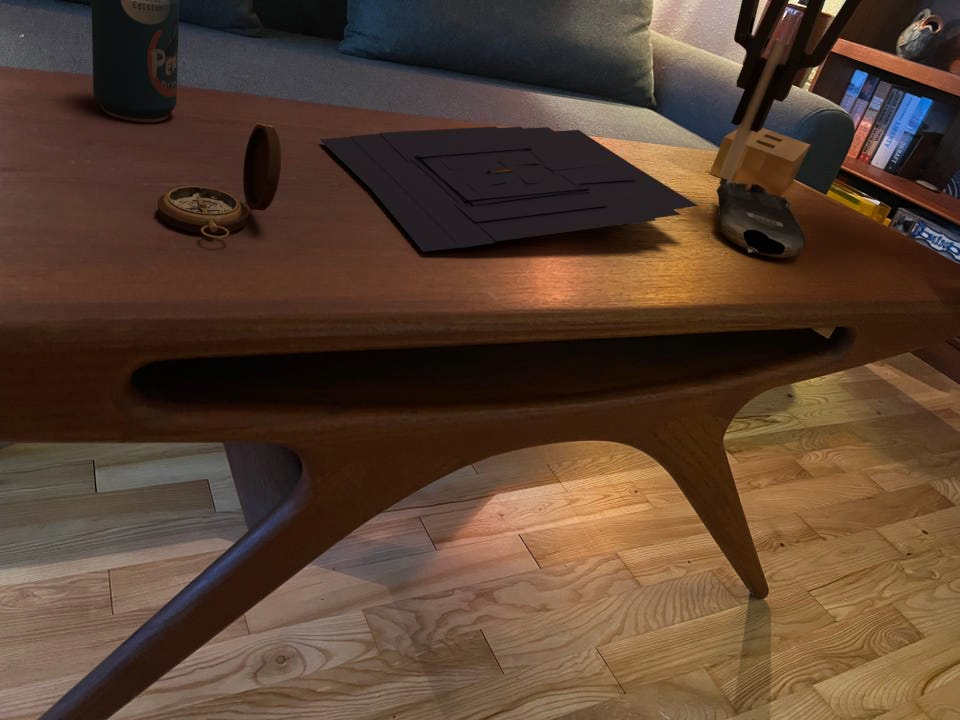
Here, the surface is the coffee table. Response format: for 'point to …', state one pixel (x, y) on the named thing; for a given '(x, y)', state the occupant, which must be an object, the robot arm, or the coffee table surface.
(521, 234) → the papers
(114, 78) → the soda can
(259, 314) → the coffee table surface
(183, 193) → the compass
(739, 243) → the electronic device
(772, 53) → the stylus
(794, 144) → the pen holder
